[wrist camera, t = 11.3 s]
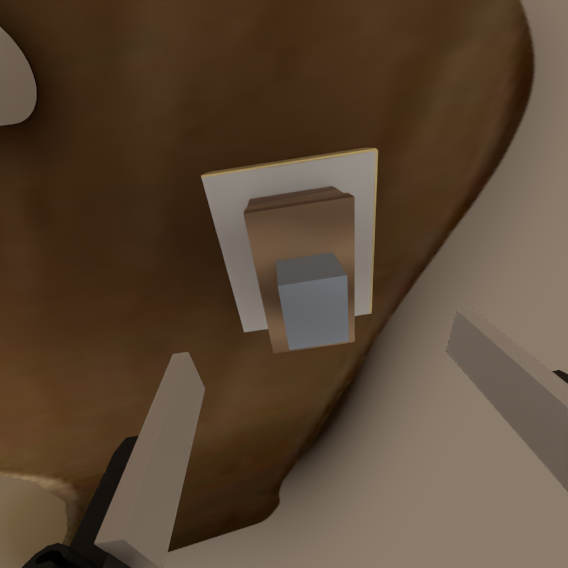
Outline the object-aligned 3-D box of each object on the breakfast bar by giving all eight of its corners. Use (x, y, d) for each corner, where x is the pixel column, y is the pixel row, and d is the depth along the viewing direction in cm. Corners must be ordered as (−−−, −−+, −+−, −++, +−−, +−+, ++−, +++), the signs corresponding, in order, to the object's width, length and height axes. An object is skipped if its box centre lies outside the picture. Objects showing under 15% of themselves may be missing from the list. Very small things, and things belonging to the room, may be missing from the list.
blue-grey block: (275, 261, 18) (277, 285, 14) (333, 252, 17) (347, 275, 14) (285, 318, 20) (289, 350, 17) (336, 310, 20) (348, 341, 17)
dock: (208, 171, 23) (200, 175, 20) (365, 147, 23) (378, 147, 20) (246, 316, 31) (244, 332, 28) (362, 298, 30) (371, 313, 28)
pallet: (249, 196, 21) (243, 213, 16) (332, 183, 21) (354, 196, 16) (272, 312, 27) (273, 353, 22) (337, 303, 27) (354, 341, 22)
